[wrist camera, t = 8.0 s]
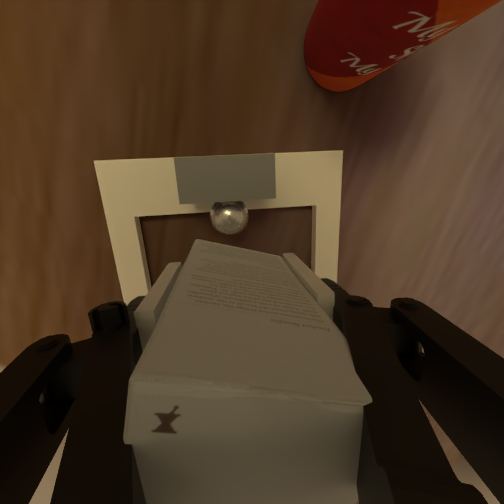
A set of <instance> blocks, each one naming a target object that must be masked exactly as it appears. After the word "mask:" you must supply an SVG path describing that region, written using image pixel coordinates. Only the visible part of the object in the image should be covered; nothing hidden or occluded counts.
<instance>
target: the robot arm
mask: <svg viewBox="0 0 504 504" xmlns="http://www.w3.org/2000/svg"><path fill="white" fill-rule="evenodd" d="M282 258H283V260H284V261H285V262H286V263H287V265H288V266H289V267H290V268H291V270H292V271H293V272H294V274H295V275H296V276H297V277H298V279H299V280H300V281H301V282H302V283H303V285H304V286H305V287H306V289H307V290H308V291H309V292H310V293H311V295H312V296H313V297H314V298H315V300H316V301H317V302H318V303H319V305H320V306H321V307H322V308H323V310H324V311H325V312H326V313H327V315H328V316H329V317H330V318H331V320H332V321H333V322H334V324H335V325H336V326H337V327H338V328H339V330H340V331H341V332H342V333H343V335H344V336H345V337H346V338H347V341H348V345H349V349H350V352H351V356H352V360H353V364H354V368H355V372H356V374H357V375H358V377H359V378H360V380H361V382H362V383H363V385H364V386H365V388H366V389H367V391H368V393H369V394H370V396H371V397H372V402H371V403H369V404H367V405H364V406H363V426H362V436H361V446H360V456H359V466H358V476H357V492H358V499H359V504H488V503H487V501H486V500H485V498H484V497H483V495H482V494H481V493H480V492H479V491H478V490H477V489H476V488H475V487H474V486H473V485H470V484H465V483H461V482H460V481H459V480H458V479H457V477H456V475H455V473H454V472H453V470H452V468H451V465H450V463H449V461H448V459H447V457H446V455H445V453H444V451H443V449H442V447H441V445H440V443H439V441H438V439H437V437H436V435H435V433H434V430H433V428H432V426H431V424H430V422H429V420H428V418H427V416H426V414H425V412H424V410H423V408H422V406H421V404H420V402H419V400H420V401H421V403H422V404H423V405H424V406H425V408H426V409H427V410H428V412H429V413H430V414H431V415H432V417H433V418H434V419H435V421H436V422H437V423H438V424H439V426H440V427H441V428H442V429H443V431H444V432H445V433H446V435H447V436H448V437H449V438H450V440H451V441H452V442H453V444H454V445H455V446H456V447H457V449H458V450H459V451H460V452H461V454H462V455H463V456H464V458H465V459H466V460H467V461H468V463H469V464H470V465H471V466H472V468H473V469H474V470H475V472H476V473H477V474H478V475H479V477H480V478H481V479H482V481H483V482H484V483H485V484H486V486H487V487H488V488H489V489H490V491H491V492H492V493H493V495H494V496H495V497H496V498H497V500H498V501H499V502H500V504H504V358H502V357H501V356H499V355H498V354H496V353H495V352H494V351H492V350H491V349H489V348H488V347H486V346H485V345H483V344H482V343H480V342H479V341H478V340H476V339H475V338H473V337H472V336H470V335H469V334H467V333H466V332H464V331H463V330H462V329H460V328H459V327H457V326H456V325H454V324H453V323H451V322H450V321H448V320H447V319H446V318H444V317H443V316H441V315H440V314H438V313H437V312H435V311H434V310H432V309H431V308H430V307H428V306H427V305H425V304H424V303H422V302H420V301H417V300H414V299H412V298H395V299H393V300H391V307H390V308H380V307H373V305H372V303H371V302H370V301H369V300H368V299H366V298H363V297H360V296H353V295H352V296H350V295H349V294H348V293H347V292H346V291H345V290H343V289H342V288H341V287H340V286H338V284H337V283H335V282H334V281H332V280H330V279H328V278H321V279H320V278H319V277H318V276H317V275H316V274H315V273H314V272H313V271H312V270H311V269H310V268H308V267H307V266H306V265H305V264H304V263H303V262H302V261H301V260H300V259H299V258H298V257H297V256H296V255H295V254H294V253H282ZM181 269H182V266H181V262H172V263H169V264H168V265H167V266H166V268H165V269H164V271H163V272H162V274H161V275H160V276H159V278H158V279H157V281H156V282H155V283H154V285H153V286H152V288H151V289H150V291H149V292H148V293H147V295H146V296H138V297H136V298H135V299H133V300H131V301H130V302H129V304H128V305H127V306H126V303H124V302H121V301H115V302H109V303H105V304H102V305H99V306H97V307H95V308H93V309H92V310H90V312H89V313H88V316H89V319H90V323H91V327H92V331H93V334H92V338H89V339H86V340H82V341H79V342H75V343H71V342H70V338H69V336H68V335H65V334H57V335H53V336H51V335H50V336H47V337H46V338H45V337H44V338H42V339H40V340H39V341H37V342H35V343H33V344H31V345H30V346H29V347H27V348H26V349H25V350H24V351H23V352H22V353H21V354H20V355H19V356H18V357H17V358H15V359H14V360H13V361H12V362H11V363H10V364H9V365H8V366H7V367H6V368H5V369H4V370H3V371H2V372H1V373H0V504H29V502H30V500H31V498H32V496H33V495H34V493H35V490H36V489H37V487H38V485H39V483H40V481H41V479H42V478H43V476H44V474H45V472H46V470H47V468H48V466H49V464H50V462H51V461H52V459H53V457H54V455H55V453H56V451H57V449H58V447H59V445H60V444H61V442H62V440H63V438H64V436H65V434H66V432H67V430H68V428H69V430H68V435H67V438H66V442H65V446H64V450H63V454H62V458H61V462H60V466H59V470H58V474H57V478H56V482H55V486H54V491H53V494H52V499H51V502H50V504H146V500H145V496H144V492H143V488H142V484H141V480H140V475H139V471H138V467H137V463H136V459H135V455H134V451H133V447H132V444H125V443H124V439H123V434H124V425H125V416H126V406H127V396H128V385H129V379H130V377H131V375H132V373H133V371H134V369H135V367H136V365H137V363H138V361H139V359H140V357H141V355H142V353H143V351H144V349H145V347H146V345H147V343H148V341H149V339H150V337H151V335H152V333H153V331H154V329H155V326H156V324H157V322H158V319H159V317H160V315H161V313H162V311H163V308H164V306H165V303H166V301H167V299H168V297H169V295H170V293H171V291H172V288H173V286H174V284H175V282H176V280H177V278H178V275H179V273H180V271H181ZM422 346H423V349H424V353H425V354H424V353H423V352H422V351H421V350H422ZM418 399H419V400H418ZM39 400H40V401H39Z"/></svg>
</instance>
